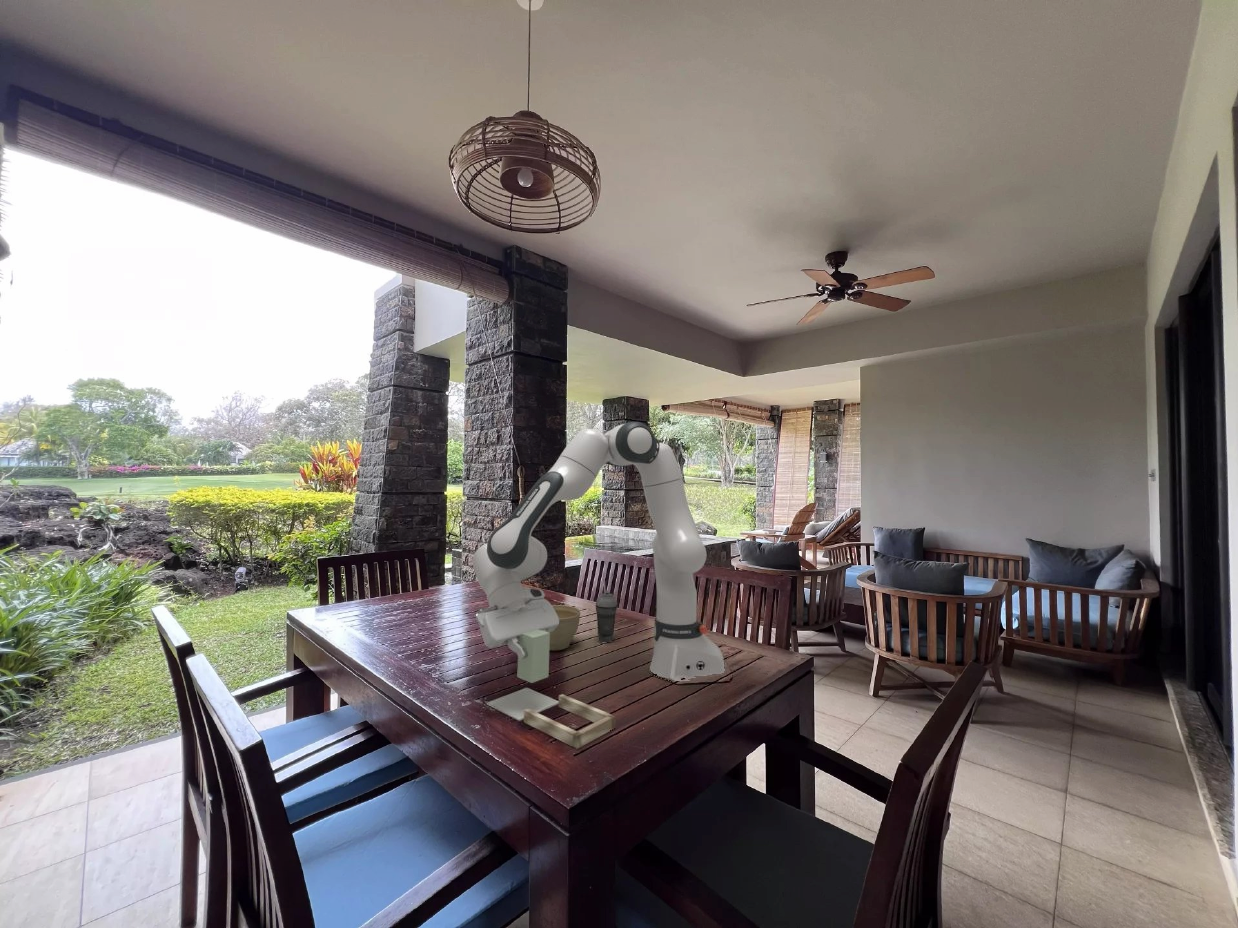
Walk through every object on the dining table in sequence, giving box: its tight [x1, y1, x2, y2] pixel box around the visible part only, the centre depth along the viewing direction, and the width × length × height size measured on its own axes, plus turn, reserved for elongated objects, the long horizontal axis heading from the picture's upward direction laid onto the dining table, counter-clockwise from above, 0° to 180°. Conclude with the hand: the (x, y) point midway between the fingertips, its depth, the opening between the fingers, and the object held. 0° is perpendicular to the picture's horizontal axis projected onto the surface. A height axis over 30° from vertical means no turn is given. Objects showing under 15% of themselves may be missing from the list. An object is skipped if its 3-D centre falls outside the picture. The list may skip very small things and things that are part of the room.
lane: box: [523, 693, 616, 750], centre depth 109 cm, size 16×11×2 cm
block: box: [516, 629, 550, 684], centre depth 117 cm, size 5×5×10 cm
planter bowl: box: [549, 604, 582, 652], centre depth 160 cm, size 16×16×11 cm
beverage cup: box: [594, 578, 618, 642], centre depth 166 cm, size 7×7×20 cm
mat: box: [485, 687, 559, 722], centre depth 119 cm, size 12×12×1 cm
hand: (535, 653), depth 117 cm, fingers closed on block, 5 cm apart
